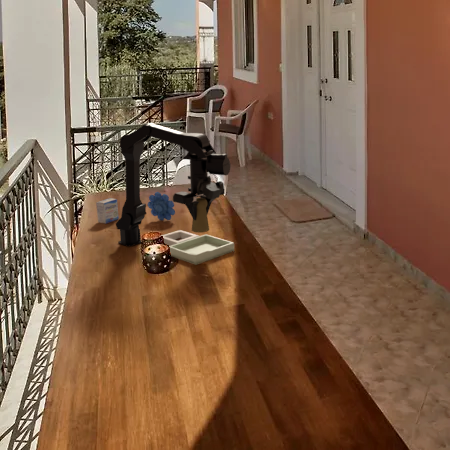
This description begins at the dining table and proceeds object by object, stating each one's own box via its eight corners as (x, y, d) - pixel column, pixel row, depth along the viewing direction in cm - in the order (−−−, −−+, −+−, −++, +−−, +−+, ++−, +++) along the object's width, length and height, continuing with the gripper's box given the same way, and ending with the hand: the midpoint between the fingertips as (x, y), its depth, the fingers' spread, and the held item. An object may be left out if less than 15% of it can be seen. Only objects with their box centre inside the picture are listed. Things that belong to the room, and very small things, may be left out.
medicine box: (105, 224, 232) (103, 203, 230) (97, 222, 234) (95, 201, 232) (119, 219, 238) (117, 198, 236) (111, 217, 241) (109, 197, 238)
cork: (200, 233, 191) (199, 201, 188) (187, 230, 195) (186, 198, 191) (213, 229, 195) (212, 198, 192) (200, 226, 199) (199, 195, 196)
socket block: (177, 249, 201) (177, 242, 200) (158, 243, 208) (158, 236, 207) (199, 242, 208) (199, 235, 207) (180, 236, 215) (180, 229, 214)
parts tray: (195, 264, 186) (195, 256, 186) (168, 254, 196) (167, 246, 195) (234, 250, 199) (234, 242, 198) (206, 242, 208) (206, 234, 207)
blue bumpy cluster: (144, 222, 233) (142, 194, 229) (150, 218, 239) (149, 190, 235) (172, 224, 230) (170, 195, 226) (177, 219, 236) (176, 191, 233)
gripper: (194, 181, 177) (195, 229, 182) (236, 171, 190) (236, 217, 195) (171, 176, 185) (173, 222, 190) (212, 167, 197) (213, 211, 202)
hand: (200, 218), depth 194 cm, fingers closed on cork, 4 cm apart
